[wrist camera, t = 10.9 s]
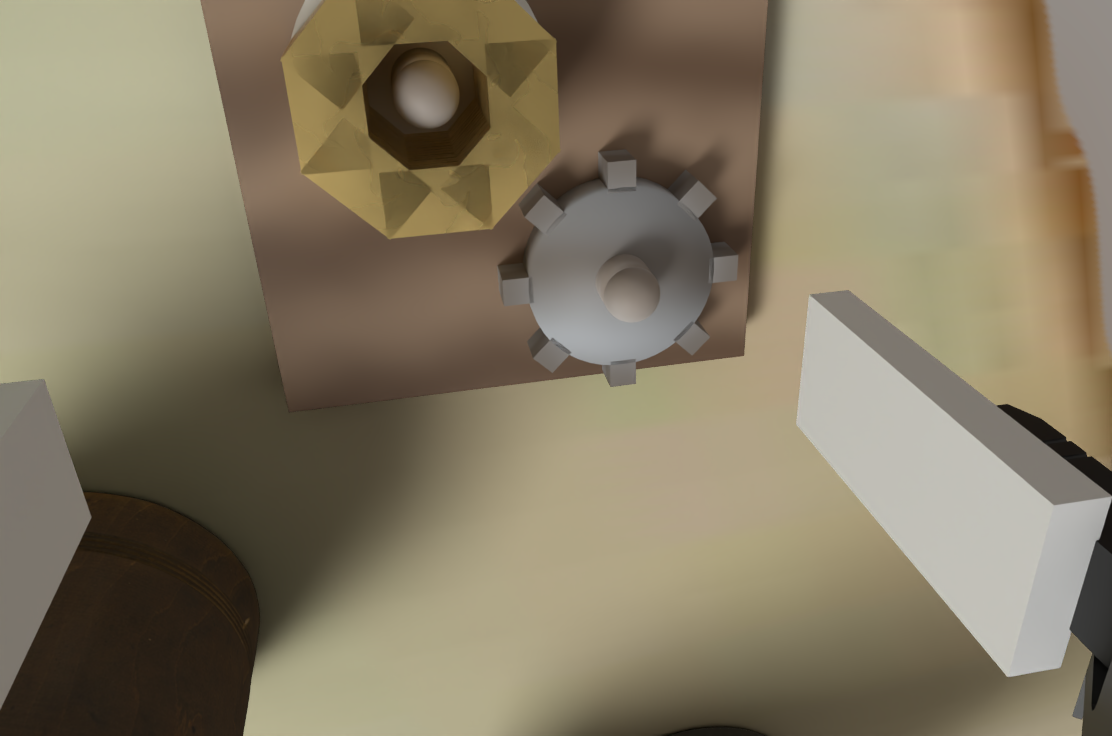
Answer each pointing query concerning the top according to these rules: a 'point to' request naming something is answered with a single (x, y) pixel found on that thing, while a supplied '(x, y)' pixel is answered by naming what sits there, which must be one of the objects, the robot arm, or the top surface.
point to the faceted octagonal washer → (432, 157)
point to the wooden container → (140, 633)
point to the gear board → (514, 209)
